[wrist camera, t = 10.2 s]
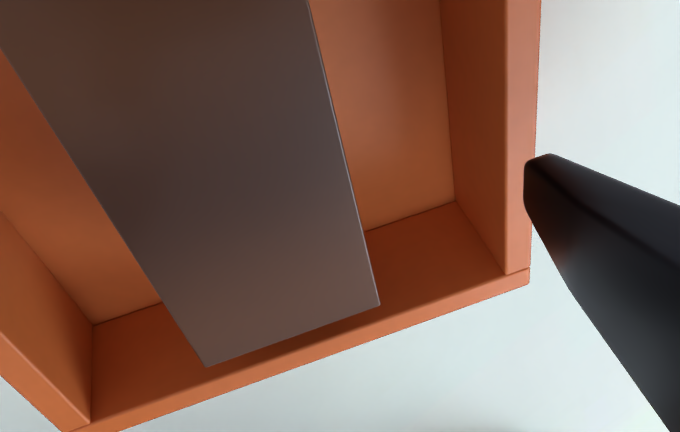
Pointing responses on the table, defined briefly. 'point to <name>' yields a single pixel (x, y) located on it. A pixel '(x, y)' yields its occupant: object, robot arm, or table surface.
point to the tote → (370, 192)
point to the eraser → (206, 156)
